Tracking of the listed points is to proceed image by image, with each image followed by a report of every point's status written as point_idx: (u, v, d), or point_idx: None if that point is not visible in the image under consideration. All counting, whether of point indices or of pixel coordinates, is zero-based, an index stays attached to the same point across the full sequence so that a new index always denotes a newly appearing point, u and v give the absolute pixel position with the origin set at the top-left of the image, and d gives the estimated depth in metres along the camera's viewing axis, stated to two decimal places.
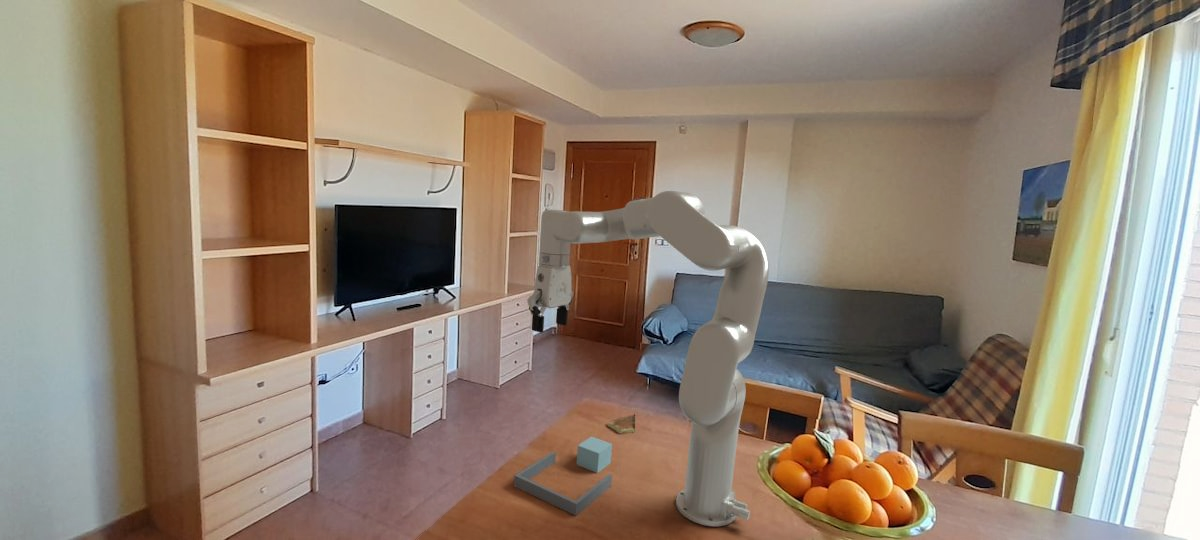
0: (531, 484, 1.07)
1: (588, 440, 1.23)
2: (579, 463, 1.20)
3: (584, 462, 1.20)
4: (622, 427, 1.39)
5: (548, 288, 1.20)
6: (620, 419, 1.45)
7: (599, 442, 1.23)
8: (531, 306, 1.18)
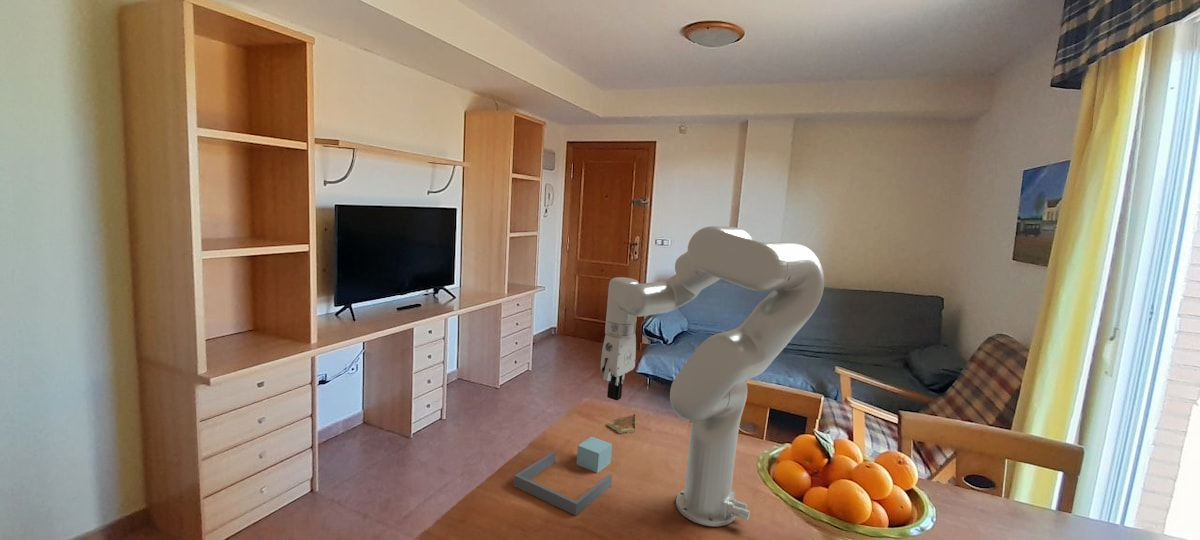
0: (531, 484, 1.07)
1: (588, 440, 1.23)
2: (579, 463, 1.20)
3: (584, 462, 1.20)
4: (622, 427, 1.39)
5: (616, 358, 1.20)
6: (620, 419, 1.45)
7: (599, 442, 1.23)
8: (609, 380, 1.23)
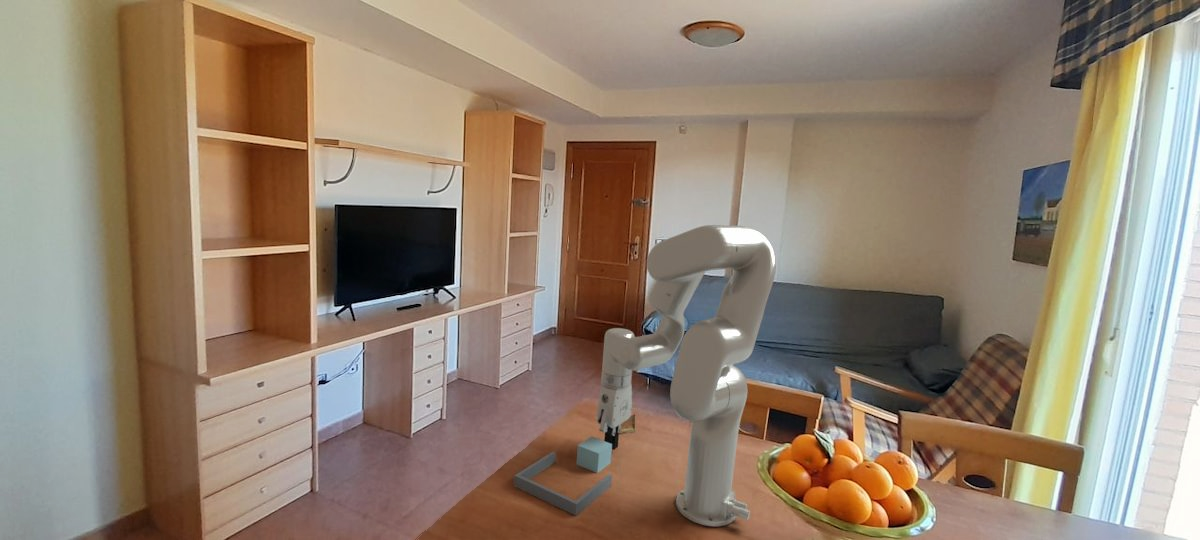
0: (531, 484, 1.07)
1: (588, 440, 1.23)
2: (579, 463, 1.20)
3: (584, 462, 1.20)
4: (622, 427, 1.39)
5: (612, 410, 1.21)
6: None
7: (599, 442, 1.23)
8: None
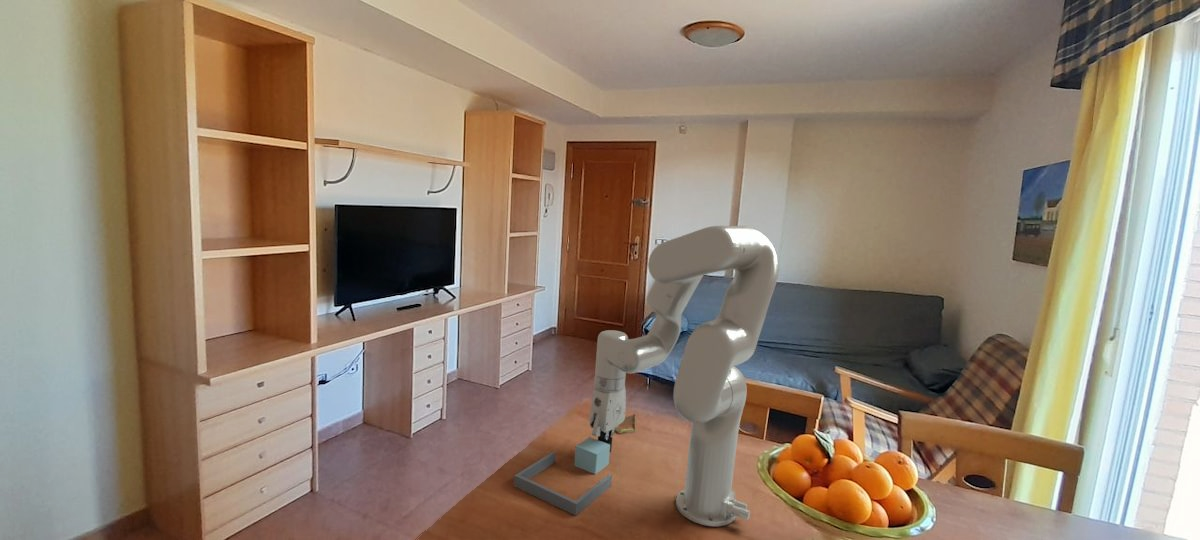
0: (531, 484, 1.07)
1: (586, 441, 1.22)
2: (577, 464, 1.20)
3: (582, 463, 1.19)
4: (622, 427, 1.39)
5: (605, 414, 1.19)
6: None
7: (597, 442, 1.22)
8: None
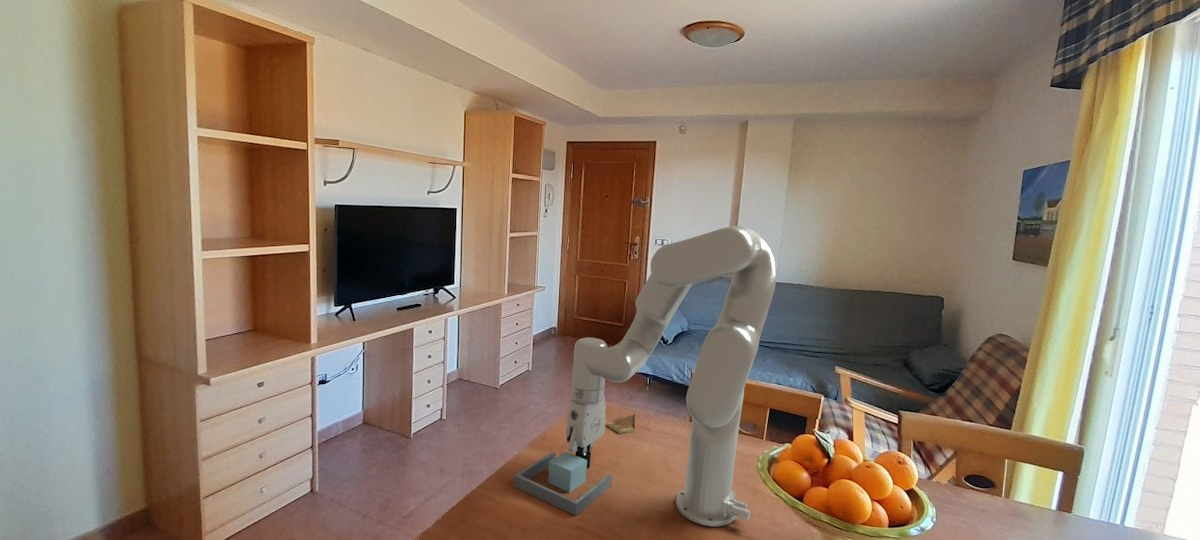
0: (531, 484, 1.07)
1: (561, 456, 1.14)
2: (551, 481, 1.12)
3: (556, 480, 1.11)
4: (622, 427, 1.39)
5: (582, 427, 1.11)
6: (620, 419, 1.45)
7: (573, 457, 1.14)
8: None
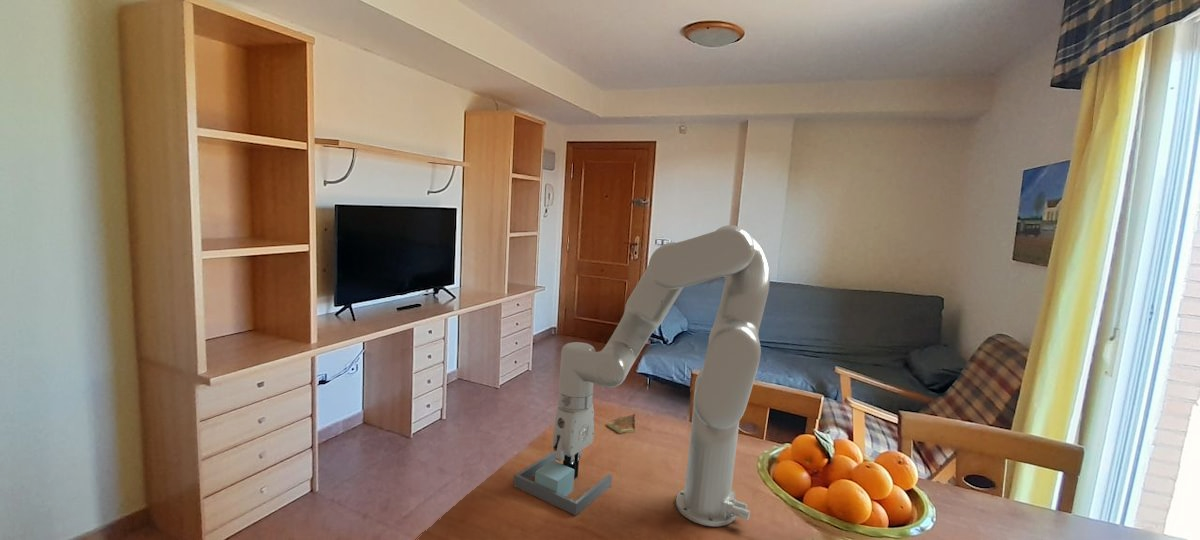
0: (531, 484, 1.07)
1: (548, 465, 1.10)
2: None
3: None
4: (622, 427, 1.39)
5: (569, 436, 1.06)
6: (620, 419, 1.45)
7: (560, 466, 1.10)
8: None
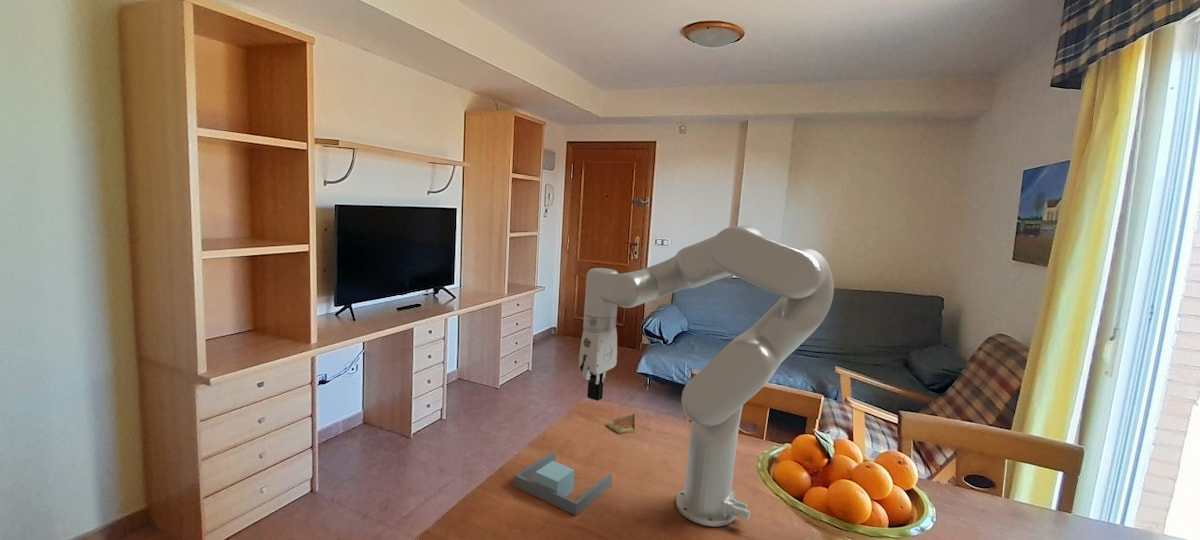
0: (531, 484, 1.07)
1: (548, 465, 1.10)
2: None
3: None
4: (622, 427, 1.39)
5: (595, 354, 1.11)
6: (620, 419, 1.45)
7: (559, 467, 1.10)
8: None
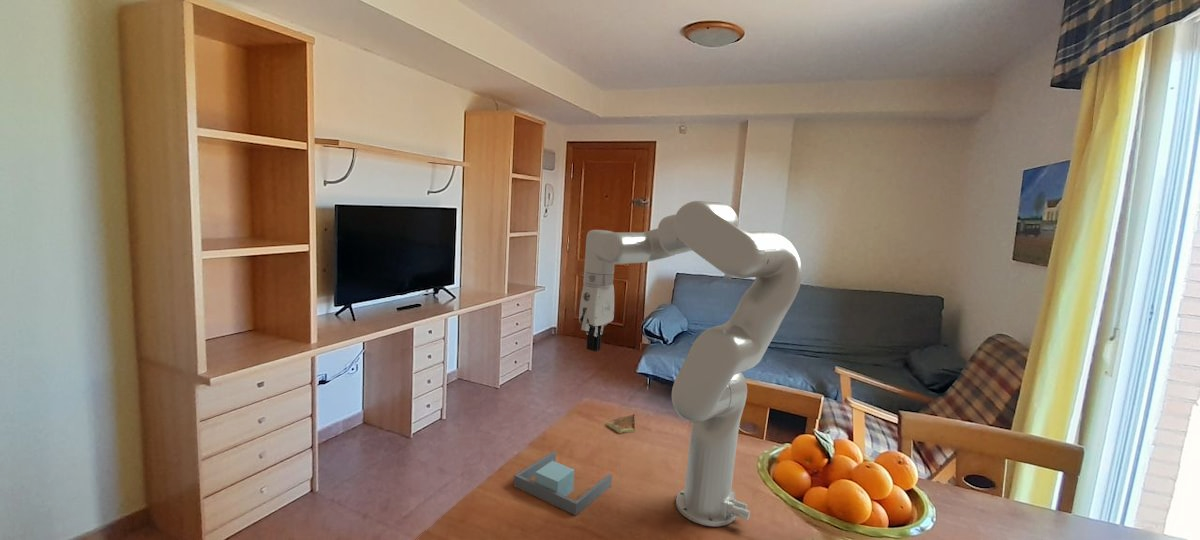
0: (531, 484, 1.07)
1: (548, 465, 1.10)
2: None
3: None
4: (622, 427, 1.39)
5: (594, 307, 1.22)
6: (619, 419, 1.45)
7: (559, 467, 1.10)
8: (587, 330, 1.25)
